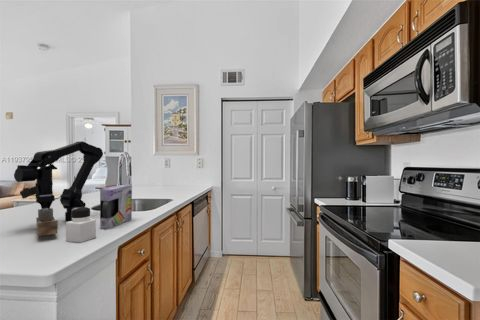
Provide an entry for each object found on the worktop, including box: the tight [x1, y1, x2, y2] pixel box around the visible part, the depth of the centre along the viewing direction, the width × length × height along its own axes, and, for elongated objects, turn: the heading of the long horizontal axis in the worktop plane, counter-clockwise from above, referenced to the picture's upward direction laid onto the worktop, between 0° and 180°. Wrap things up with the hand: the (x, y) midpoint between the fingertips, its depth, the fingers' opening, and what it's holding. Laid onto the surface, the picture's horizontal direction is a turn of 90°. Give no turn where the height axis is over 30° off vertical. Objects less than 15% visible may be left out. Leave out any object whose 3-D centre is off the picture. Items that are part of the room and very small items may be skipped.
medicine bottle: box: [65, 206, 97, 244], centre depth 104 cm, size 7×7×12 cm
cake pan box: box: [99, 184, 133, 230], centre depth 127 cm, size 19×5×18 cm, turn 170°
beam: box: [35, 216, 59, 237], centre depth 111 cm, size 6×23×7 cm, turn 38°
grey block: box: [37, 207, 54, 222], centre depth 116 cm, size 5×4×6 cm
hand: (44, 215), depth 120 cm, fingers closed
